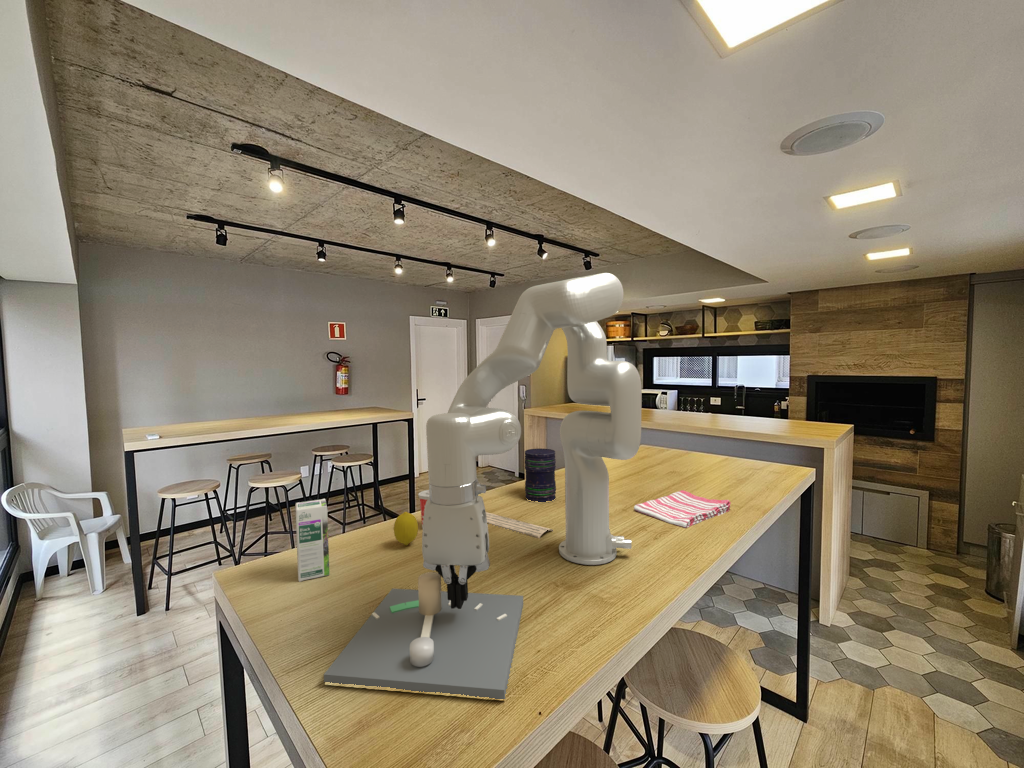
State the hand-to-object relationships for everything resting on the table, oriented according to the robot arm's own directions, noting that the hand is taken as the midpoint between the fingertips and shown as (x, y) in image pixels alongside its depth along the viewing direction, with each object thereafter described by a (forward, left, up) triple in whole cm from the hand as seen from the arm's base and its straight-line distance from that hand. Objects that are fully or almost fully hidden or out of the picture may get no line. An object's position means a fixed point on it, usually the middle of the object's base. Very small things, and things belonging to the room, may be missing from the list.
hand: (458, 603), depth 69 cm
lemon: (+20, -29, -4) cm, 36 cm away
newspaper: (-2, -45, -5) cm, 46 cm away
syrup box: (+34, -14, -4) cm, 37 cm away
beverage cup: (+18, -41, -4) cm, 45 cm away
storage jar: (-9, -68, -4) cm, 69 cm away
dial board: (+2, +4, -4) cm, 6 cm away
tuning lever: (+4, +5, -2) cm, 6 cm away
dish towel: (-50, -60, -4) cm, 78 cm away
